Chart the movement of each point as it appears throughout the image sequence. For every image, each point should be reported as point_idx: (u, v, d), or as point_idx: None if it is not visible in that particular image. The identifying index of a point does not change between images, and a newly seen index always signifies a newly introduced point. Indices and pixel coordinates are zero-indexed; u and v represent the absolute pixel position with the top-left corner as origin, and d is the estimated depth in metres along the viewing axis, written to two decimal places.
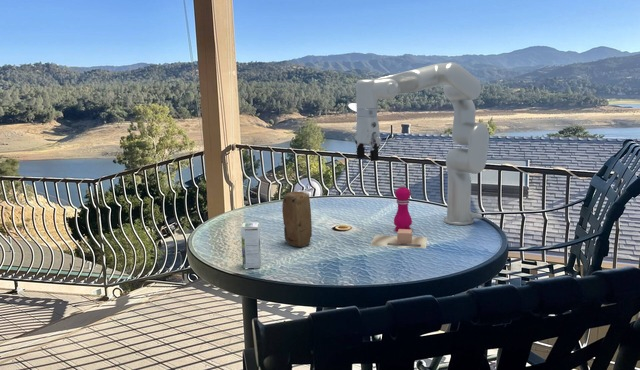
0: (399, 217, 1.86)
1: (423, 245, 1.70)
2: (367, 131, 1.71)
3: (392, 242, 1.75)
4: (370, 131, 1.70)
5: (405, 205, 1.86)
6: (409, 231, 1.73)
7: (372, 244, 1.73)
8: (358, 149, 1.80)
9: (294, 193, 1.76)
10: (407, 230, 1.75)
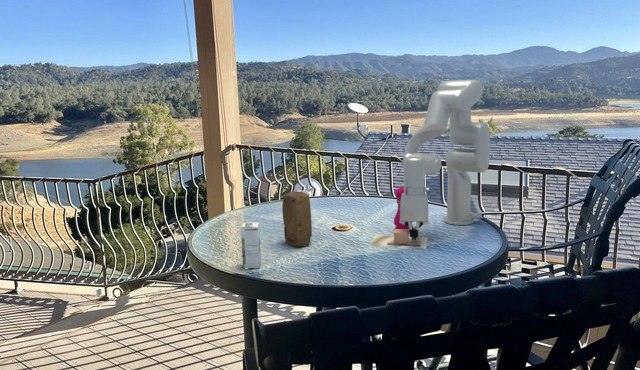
0: (399, 217, 1.86)
1: (423, 245, 1.70)
2: (424, 209, 1.69)
3: (392, 242, 1.75)
4: (427, 208, 1.69)
5: None
6: (405, 231, 1.74)
7: (372, 244, 1.73)
8: (413, 231, 1.72)
9: (294, 193, 1.76)
10: (403, 230, 1.76)
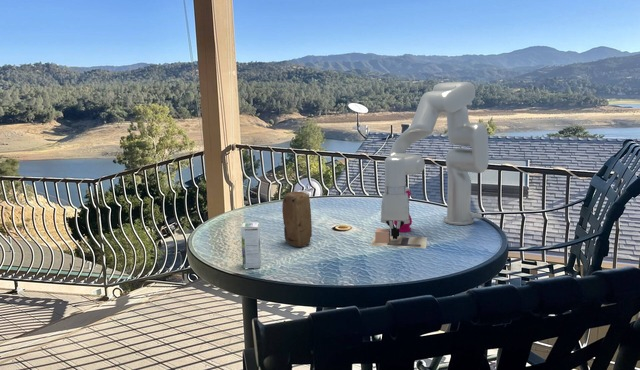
0: None
1: (423, 245, 1.70)
2: (405, 208, 1.71)
3: (392, 242, 1.75)
4: (408, 208, 1.71)
5: None
6: (387, 231, 1.75)
7: (372, 244, 1.73)
8: (394, 230, 1.74)
9: (294, 193, 1.76)
10: (385, 229, 1.77)
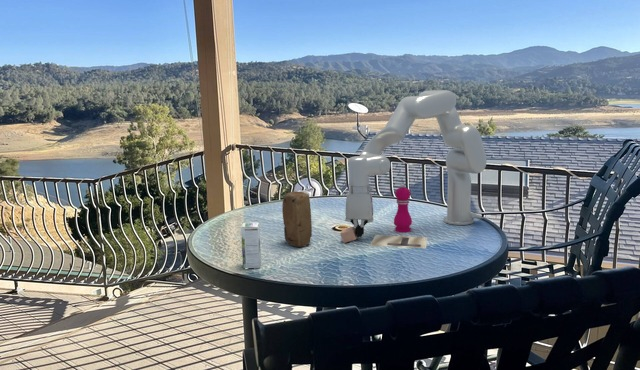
0: (399, 217, 1.86)
1: (423, 245, 1.70)
2: (368, 207, 1.74)
3: (392, 242, 1.75)
4: (371, 207, 1.74)
5: (405, 205, 1.86)
6: (351, 228, 1.79)
7: (372, 244, 1.73)
8: (358, 228, 1.78)
9: (294, 193, 1.76)
10: (350, 228, 1.81)
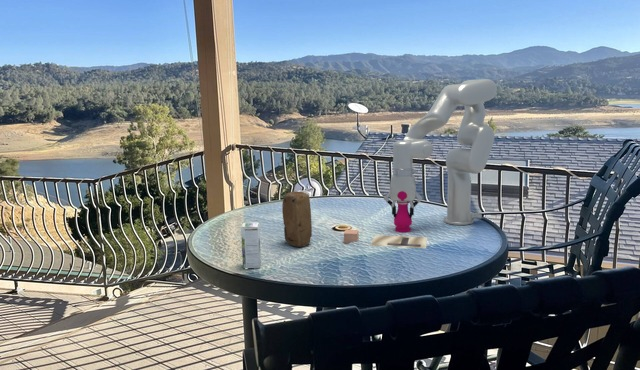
0: (399, 217, 1.86)
1: (423, 245, 1.70)
2: (412, 189, 1.83)
3: (392, 242, 1.75)
4: (414, 188, 1.84)
5: (405, 205, 1.86)
6: (355, 232, 1.79)
7: (372, 244, 1.73)
8: (395, 209, 1.87)
9: (294, 193, 1.76)
10: (353, 230, 1.81)
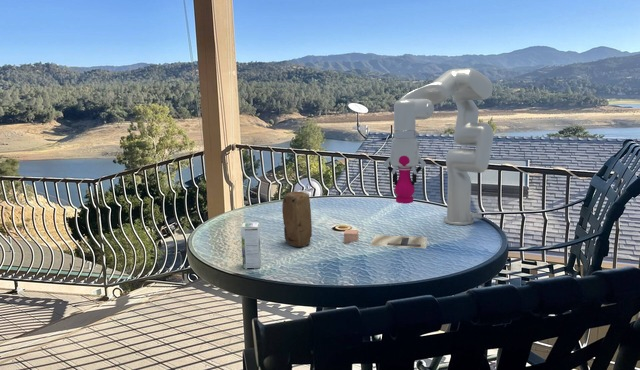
0: (401, 185, 1.69)
1: (423, 245, 1.70)
2: (415, 153, 1.66)
3: (392, 242, 1.75)
4: (418, 152, 1.67)
5: (407, 171, 1.69)
6: (355, 232, 1.79)
7: (372, 244, 1.73)
8: (396, 175, 1.71)
9: (294, 193, 1.76)
10: (353, 230, 1.81)
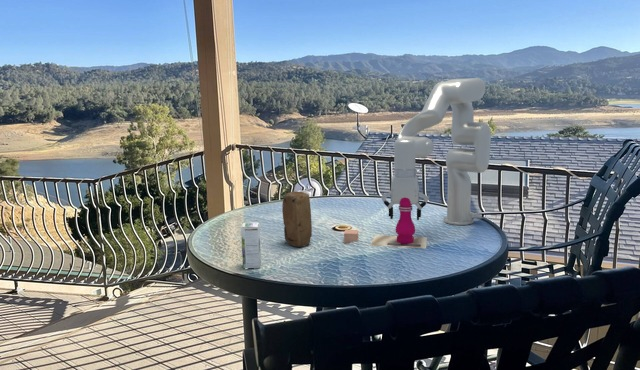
0: (402, 225, 1.72)
1: (423, 245, 1.70)
2: (415, 191, 1.68)
3: (392, 242, 1.75)
4: (418, 191, 1.69)
5: (408, 212, 1.71)
6: (355, 232, 1.79)
7: (372, 244, 1.73)
8: (392, 210, 1.73)
9: (294, 193, 1.76)
10: (353, 230, 1.81)
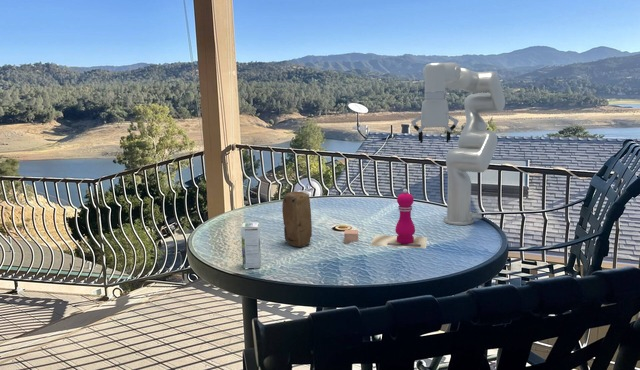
0: (402, 225, 1.72)
1: (423, 245, 1.70)
2: (445, 113, 1.74)
3: (392, 242, 1.75)
4: (448, 113, 1.74)
5: (408, 212, 1.71)
6: (355, 232, 1.79)
7: (372, 244, 1.73)
8: (422, 134, 1.78)
9: (294, 193, 1.76)
10: (353, 230, 1.81)
